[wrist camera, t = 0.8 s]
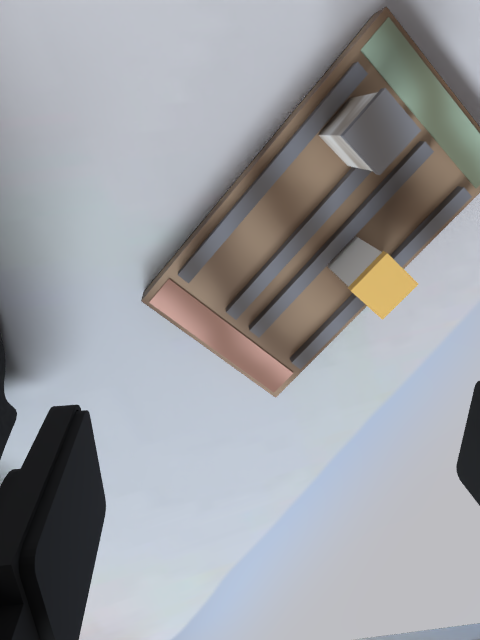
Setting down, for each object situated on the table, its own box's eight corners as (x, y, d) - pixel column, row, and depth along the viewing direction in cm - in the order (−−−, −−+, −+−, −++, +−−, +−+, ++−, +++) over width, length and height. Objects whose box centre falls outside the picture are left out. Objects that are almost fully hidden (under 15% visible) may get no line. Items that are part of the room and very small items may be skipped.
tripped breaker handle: (355, 234, 32) (387, 253, 27) (383, 260, 34) (418, 284, 28) (325, 266, 33) (350, 290, 28) (353, 291, 34) (382, 319, 29)
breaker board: (373, 14, 29) (432, -23, 22) (490, 162, 34) (570, 170, 27) (143, 292, 35) (132, 332, 28) (271, 385, 39) (289, 439, 32)
